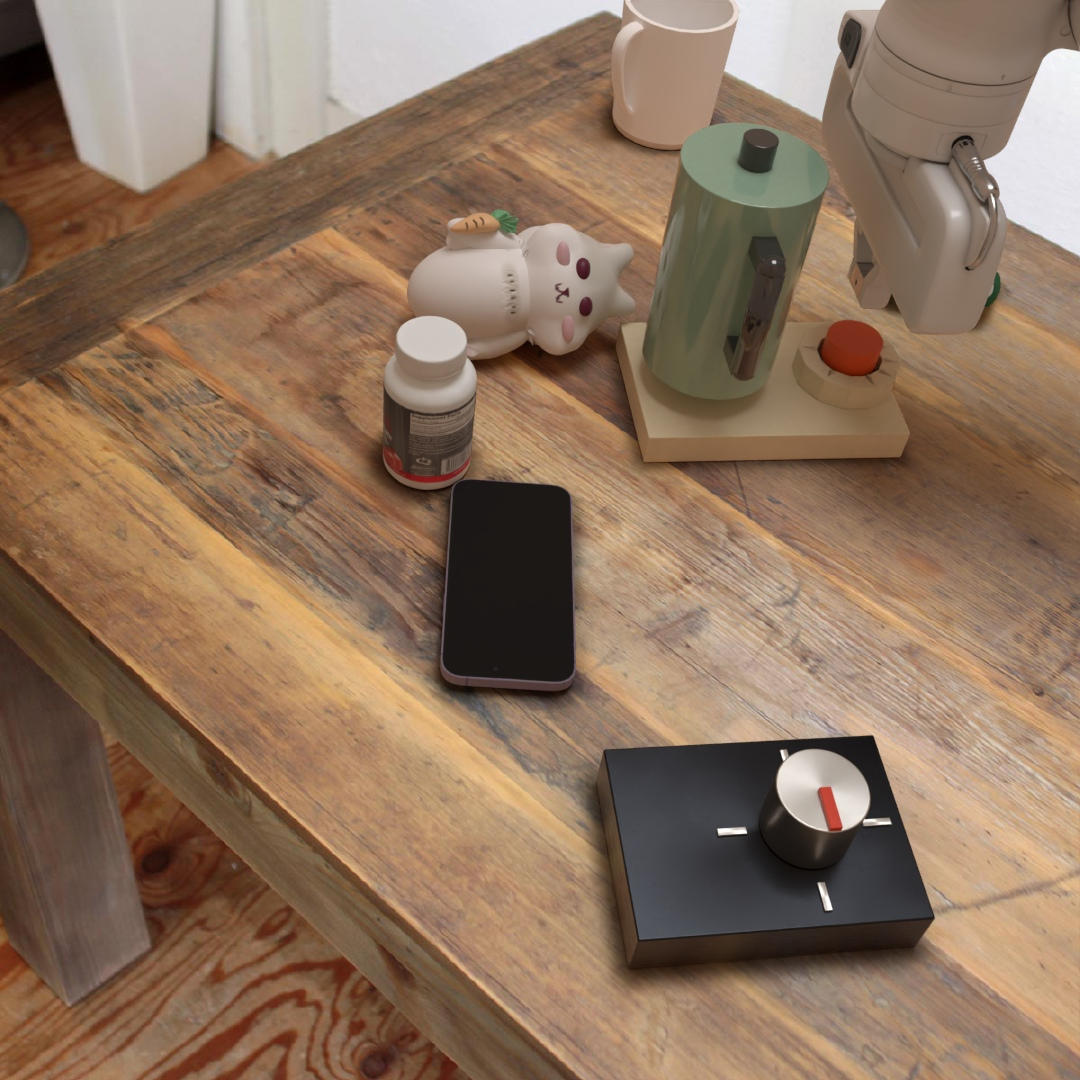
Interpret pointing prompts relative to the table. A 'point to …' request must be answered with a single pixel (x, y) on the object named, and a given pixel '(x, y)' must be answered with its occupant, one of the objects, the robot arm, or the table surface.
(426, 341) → the pill bottle
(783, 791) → the knob
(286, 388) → the table surface
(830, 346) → the button
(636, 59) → the mug
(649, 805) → the dial panel
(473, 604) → the smartphone
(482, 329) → the cat figurine
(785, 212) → the kettle
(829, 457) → the kettle base
